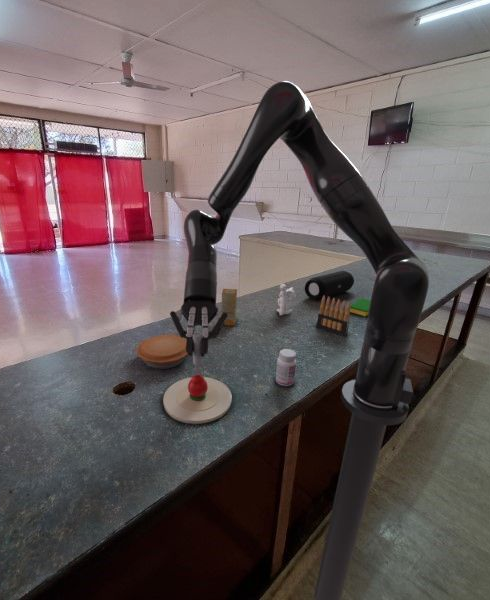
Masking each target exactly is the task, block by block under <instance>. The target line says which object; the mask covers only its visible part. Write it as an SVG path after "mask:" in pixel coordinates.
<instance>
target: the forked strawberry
mask: <svg viewBox="0 0 490 600" xmlns="http://www.w3.org/2000/svg"><path fill="white" fill-rule="evenodd" d="M202 338H203V333H201V332H194V334H193V357H192V364H193V365H195V368H193V375H192V376H191V377H192V379H191V380H190V382H189V384H188V391H189V393H190V398H191V399H192V400H194V401H201V400H203V399H205V397H206V392H207V389H208V385H207V382H206V380H205V379H204V377H205V376H203V371H202V370H203V369H202V367H201V365H202V364H203V357H201V341H202Z"/></svg>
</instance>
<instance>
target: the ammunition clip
mask: <svg viewBox="0 0 490 600" xmlns="http://www.w3.org/2000/svg"><path fill="white" fill-rule="evenodd" d="M350 305H351V301H348V302H347V305H346V301H345V299H344V300H343V301H342V303H341V299H340V298H338V299H337V302H336V298H335V297H333V298H332V300H331V296H329V297H327V299H326V297H325V295H324V296H323V298H322V299H321V302H320V306H319V312H318V315H317V319H316V325H315V327H317V328H319V329H322V330H326V331H329V332H332V333H336V334H338V335H341V336H347V335H348V332H349V323H350V316H351V312H350Z"/></svg>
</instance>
